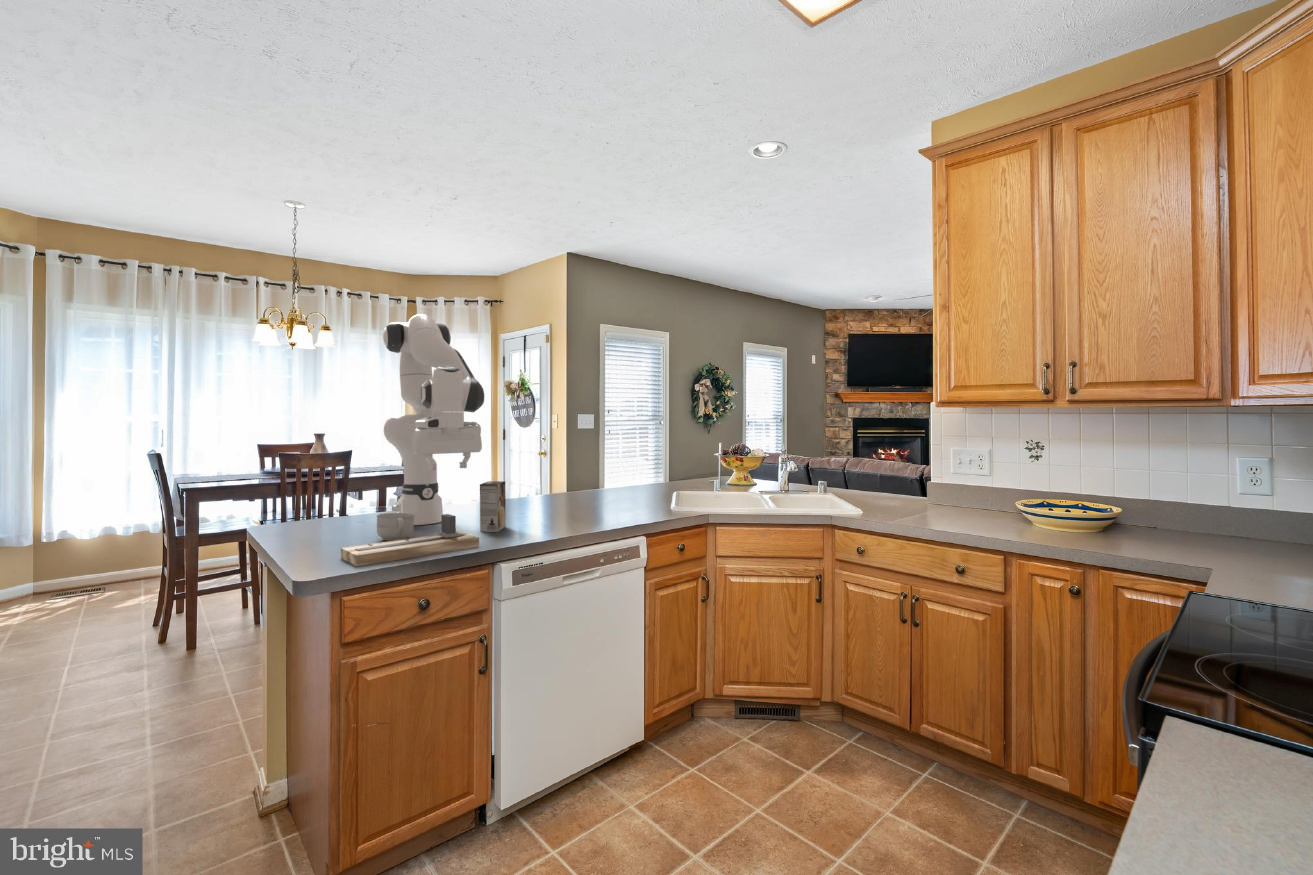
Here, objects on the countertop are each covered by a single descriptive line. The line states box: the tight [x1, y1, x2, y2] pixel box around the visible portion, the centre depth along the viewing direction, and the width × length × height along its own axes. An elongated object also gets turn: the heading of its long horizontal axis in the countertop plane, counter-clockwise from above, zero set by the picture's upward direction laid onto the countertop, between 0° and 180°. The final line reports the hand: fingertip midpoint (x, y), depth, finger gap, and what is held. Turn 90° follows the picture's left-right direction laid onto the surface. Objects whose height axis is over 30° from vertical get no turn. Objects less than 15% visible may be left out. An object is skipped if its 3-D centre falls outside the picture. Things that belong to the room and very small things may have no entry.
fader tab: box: [437, 513, 460, 538], centre depth 177 cm, size 5×4×6 cm
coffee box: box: [479, 480, 507, 533], centre depth 205 cm, size 9×6×16 cm
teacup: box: [376, 512, 415, 542], centre depth 186 cm, size 14×11×8 cm
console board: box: [340, 531, 480, 567], centre depth 170 cm, size 12×34×3 cm, turn 135°
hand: (448, 468), depth 177 cm, fingers open, 8 cm apart
